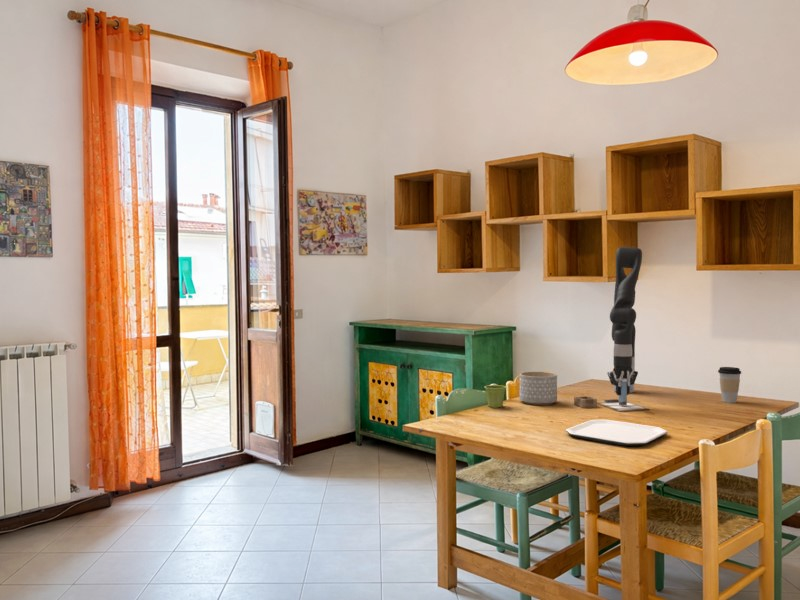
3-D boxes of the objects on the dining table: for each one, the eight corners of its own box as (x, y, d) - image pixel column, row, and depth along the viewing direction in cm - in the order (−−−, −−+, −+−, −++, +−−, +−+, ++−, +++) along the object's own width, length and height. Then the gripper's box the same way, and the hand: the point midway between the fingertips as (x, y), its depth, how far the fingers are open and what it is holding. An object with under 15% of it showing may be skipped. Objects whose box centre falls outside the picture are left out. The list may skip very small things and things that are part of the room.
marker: (617, 404, 281) (617, 377, 281) (624, 403, 282) (624, 377, 282) (621, 405, 278) (621, 379, 278) (628, 405, 279) (628, 378, 279)
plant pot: (482, 408, 281) (482, 387, 281) (486, 404, 290) (486, 384, 290) (504, 409, 278) (504, 388, 278) (507, 405, 287) (507, 385, 287)
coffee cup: (744, 404, 286) (744, 369, 286) (721, 403, 288) (721, 369, 287) (736, 400, 296) (737, 366, 295) (714, 399, 297) (714, 366, 297)
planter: (561, 405, 285) (561, 376, 285) (523, 406, 285) (523, 377, 284) (552, 398, 301) (552, 371, 301) (516, 399, 301) (516, 371, 301)
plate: (672, 435, 233) (672, 428, 233) (640, 451, 211) (640, 444, 211) (595, 423, 252) (595, 417, 252) (559, 437, 230) (559, 431, 230)
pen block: (574, 404, 287) (574, 396, 287) (588, 404, 288) (588, 396, 288) (582, 407, 280) (582, 399, 280) (596, 407, 282) (596, 398, 281)
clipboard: (596, 403, 289) (596, 400, 289) (624, 402, 292) (624, 398, 292) (619, 411, 271) (619, 408, 271) (649, 410, 274) (649, 406, 274)
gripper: (632, 353, 285) (632, 392, 285) (603, 354, 281) (603, 394, 282) (642, 355, 278) (642, 395, 278) (612, 356, 274) (612, 397, 275)
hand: (622, 394), depth 280 cm, fingers closed on marker, 3 cm apart
